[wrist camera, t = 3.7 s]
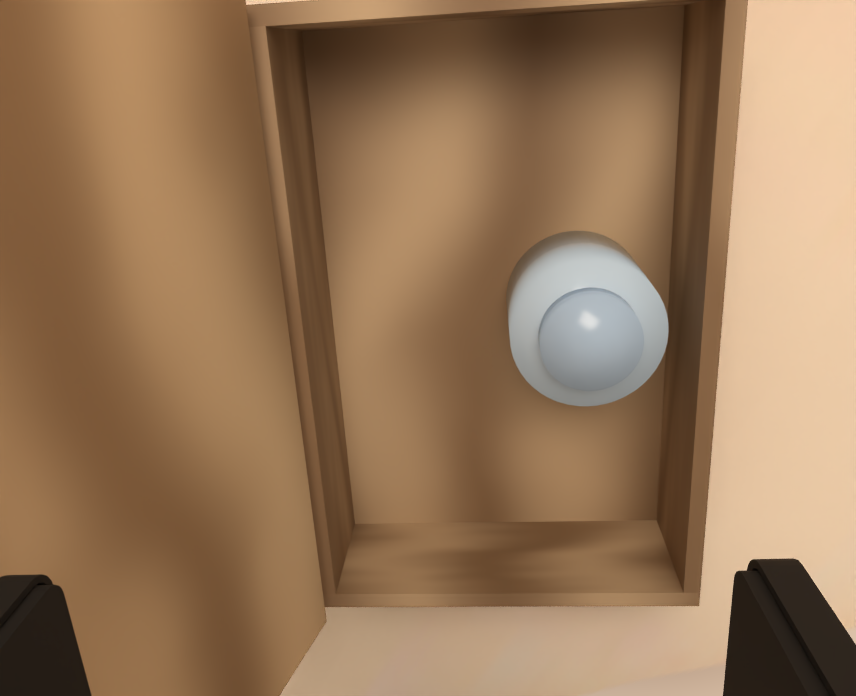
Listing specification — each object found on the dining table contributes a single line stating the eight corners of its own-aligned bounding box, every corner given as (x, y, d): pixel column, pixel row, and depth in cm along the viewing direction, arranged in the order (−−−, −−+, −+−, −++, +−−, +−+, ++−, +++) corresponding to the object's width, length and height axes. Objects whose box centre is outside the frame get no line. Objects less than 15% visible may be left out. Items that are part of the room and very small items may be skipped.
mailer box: (699, -15, 22) (750, -31, 18) (667, 524, 28) (698, 606, 24) (286, 14, 23) (242, 5, 19) (345, 527, 29) (322, 606, 25)
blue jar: (646, 227, 24) (678, 262, 20) (640, 358, 25) (670, 415, 21) (504, 233, 24) (508, 269, 20) (507, 362, 26) (512, 418, 22)
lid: (-401, -89, 6) (-523, -65, 7) (75, 1136, 13) (-10, 1097, 13) (292, -7, 18) (223, 0, 18) (362, 627, 24) (310, 618, 25)
